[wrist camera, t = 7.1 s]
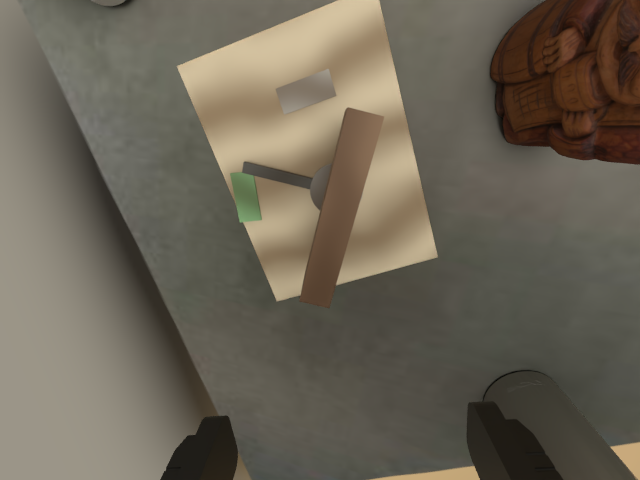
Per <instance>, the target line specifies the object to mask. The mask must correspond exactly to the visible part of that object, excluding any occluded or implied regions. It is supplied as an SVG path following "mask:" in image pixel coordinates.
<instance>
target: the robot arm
mask: <svg viewBox="0 0 640 480" xmlns="http://www.w3.org/2000/svg"><path fill="white" fill-rule="evenodd" d="M467 444H468V449H469V453H470V456H471V459H472V461H473V464H474V466H475V468H476V471H477V473H478V476H479V478H480V480H638V479H637V478H636V477H635V476H634V475H633V473H632V472H631V471H630V470H629V469H628V468H627V466H626V465H625V464H624V463H623V462H622V461H621V459H620V458H619V457H618V456H617V455H616V454H615V452H614V451H613V450H612V449H611V448H610V446H609V445H608V444H607V443H606V442H605V441H604V439H603V438H602V437H601V436H600V435H599V434H598V432H597V431H596V430H595V429H594V428H593V427H592V425H591V424H590V423H589V422H588V421H587V420H586V418H585V417H584V416H583V415H582V414H581V413H580V411H579V410H578V409H577V408H576V407H575V405H574V404H573V403H572V402H571V401H570V400H569V398H568V397H567V396H566V395H565V394H564V393H563V392H562V390H561V389H560V388H559V387H558V386H557V385H556V383H555V382H554V381H553V380H552V379H551V378H549V377H548V376H546V375H544V374H542V373H538V372H533V371H522V372H515V373H512V374H509V375H506V376H504V377H502V378H500V379H499V380H498V381H496V382H495V383H494V384H493V385H492V386H491V387H490V388H489V389H488V391H487V392H486V395H485V397H484V402H470V403H469V404H468V416H467ZM237 458H238V450H237V445H236V441H235V437H234V434H233V430H232V427H231V423H230V420H229V417H228V416H213V417H212V416H211V417H205V418H204V419H203V420H202V422H201V424H200V426H199V429H198V431H197V433H196V435H189V436H187V437H186V439H184V441H183V442H182V443H181V444H180V445H179V446H178V447H177V449H176V450H175V451H174V453H173V455H172V457H171V459H170V461H169V463H168V466H167V467H166V471H164V473H163V476H162V477H161V479H160V480H233V477H234V474H235V470H236V466H237Z"/></svg>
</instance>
